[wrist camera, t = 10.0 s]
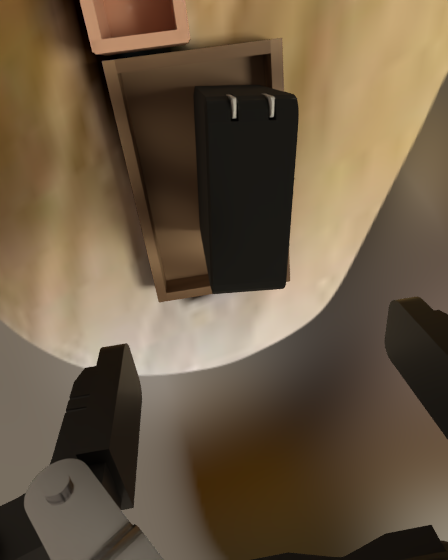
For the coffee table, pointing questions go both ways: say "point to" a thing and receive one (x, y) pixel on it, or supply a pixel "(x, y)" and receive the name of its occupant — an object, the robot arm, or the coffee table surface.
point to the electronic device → (245, 183)
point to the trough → (177, 146)
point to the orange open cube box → (135, 25)
